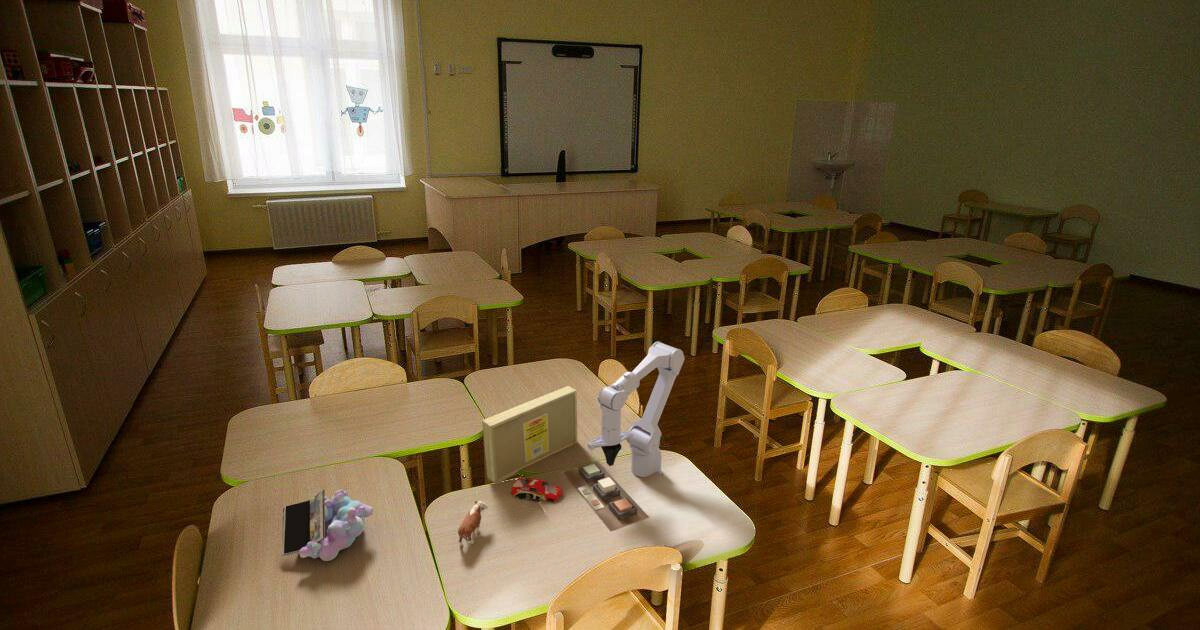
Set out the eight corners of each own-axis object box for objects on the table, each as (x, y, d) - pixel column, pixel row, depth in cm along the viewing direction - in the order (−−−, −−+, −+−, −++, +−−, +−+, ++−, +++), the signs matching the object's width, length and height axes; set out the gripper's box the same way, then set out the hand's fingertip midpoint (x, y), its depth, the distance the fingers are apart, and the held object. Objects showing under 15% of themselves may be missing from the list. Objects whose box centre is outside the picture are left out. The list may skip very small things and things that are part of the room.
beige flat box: (569, 439, 227) (568, 385, 219) (578, 444, 224) (577, 389, 216) (486, 478, 205) (482, 419, 197) (494, 485, 202) (490, 425, 194)
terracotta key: (625, 504, 191) (625, 498, 190) (632, 512, 188) (632, 505, 187) (613, 508, 189) (613, 502, 188) (620, 516, 186) (620, 509, 185)
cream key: (609, 483, 199) (609, 477, 198) (615, 490, 195) (615, 484, 195) (597, 487, 197) (597, 480, 196) (603, 494, 194) (604, 487, 193)
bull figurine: (491, 521, 185) (489, 498, 182) (467, 552, 173) (465, 528, 171) (478, 518, 187) (476, 495, 184) (453, 549, 175) (451, 524, 172)
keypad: (597, 464, 213) (597, 456, 212) (649, 519, 186) (649, 511, 185) (562, 474, 207) (562, 467, 206) (610, 534, 181) (610, 525, 180)
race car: (566, 494, 198) (566, 481, 196) (559, 507, 192) (559, 494, 190) (517, 485, 202) (517, 472, 200) (509, 497, 196) (508, 484, 194)
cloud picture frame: (392, 522, 178) (363, 466, 177) (330, 569, 160) (296, 507, 159) (351, 534, 189) (323, 481, 188) (288, 580, 170) (257, 521, 169)
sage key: (594, 470, 207) (594, 463, 206) (599, 476, 204) (599, 470, 203) (583, 473, 206) (583, 467, 205) (588, 480, 202) (588, 473, 201)
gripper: (625, 413, 197) (623, 451, 201) (583, 424, 190) (583, 463, 195) (637, 424, 191) (635, 462, 196) (594, 435, 184) (593, 475, 189)
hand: (610, 464), depth 195 cm, fingers closed
